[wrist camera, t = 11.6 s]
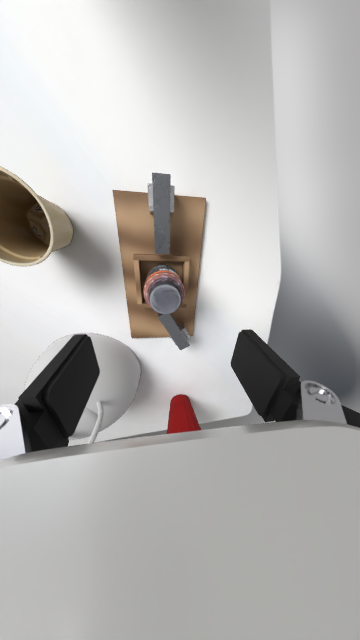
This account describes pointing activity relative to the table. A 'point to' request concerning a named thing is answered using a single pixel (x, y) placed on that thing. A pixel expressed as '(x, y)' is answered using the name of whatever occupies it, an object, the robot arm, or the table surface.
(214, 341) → the table surface
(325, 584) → the robot arm
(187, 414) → the plastic cup
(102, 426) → the kettle
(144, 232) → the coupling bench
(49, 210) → the flower pot
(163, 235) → the pair of grey blocks
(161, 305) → the supplement bottle
